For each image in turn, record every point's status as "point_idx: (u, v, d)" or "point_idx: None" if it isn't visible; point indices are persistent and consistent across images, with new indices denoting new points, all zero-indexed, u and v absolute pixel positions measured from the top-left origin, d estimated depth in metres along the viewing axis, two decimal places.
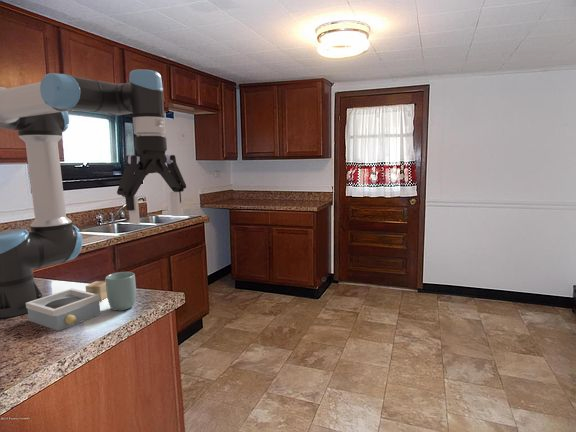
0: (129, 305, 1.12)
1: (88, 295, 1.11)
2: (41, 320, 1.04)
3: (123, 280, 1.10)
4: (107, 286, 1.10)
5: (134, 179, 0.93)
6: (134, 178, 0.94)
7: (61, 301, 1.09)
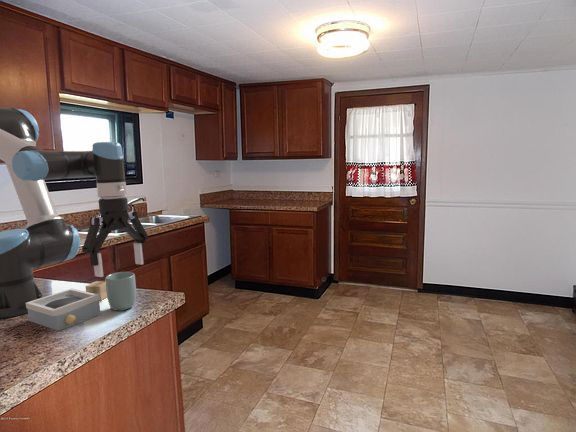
0: (129, 305, 1.12)
1: (88, 295, 1.11)
2: (41, 320, 1.04)
3: (123, 280, 1.10)
4: (107, 286, 1.10)
5: (98, 237, 1.06)
6: (98, 236, 1.07)
7: (61, 301, 1.09)
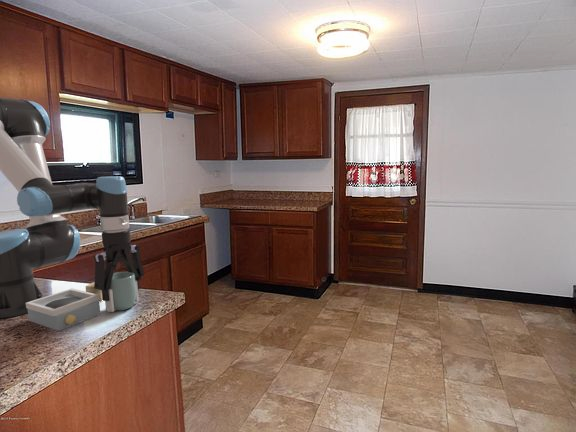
0: (129, 305, 1.12)
1: (88, 295, 1.11)
2: (41, 320, 1.04)
3: (123, 280, 1.10)
4: None
5: (106, 273, 1.09)
6: (105, 272, 1.09)
7: (61, 301, 1.09)
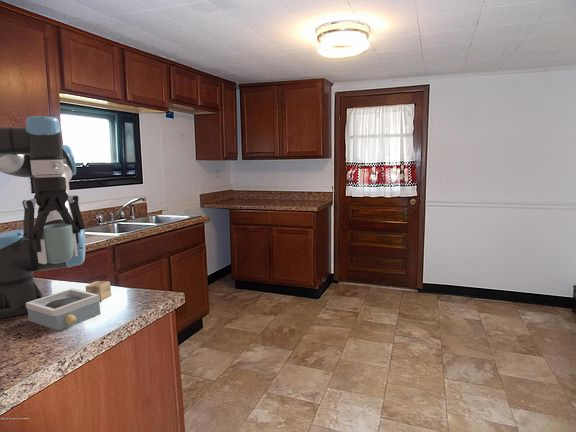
0: (64, 258, 1.04)
1: (88, 295, 1.11)
2: (41, 320, 1.04)
3: (57, 229, 1.02)
4: None
5: (37, 221, 1.01)
6: (37, 220, 1.01)
7: (61, 301, 1.09)
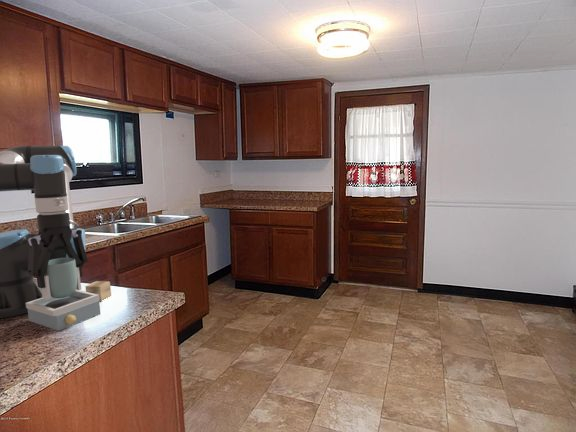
0: (68, 293, 1.05)
1: (88, 295, 1.11)
2: (41, 320, 1.04)
3: (60, 265, 1.03)
4: None
5: (41, 258, 1.02)
6: (41, 257, 1.02)
7: (61, 301, 1.09)
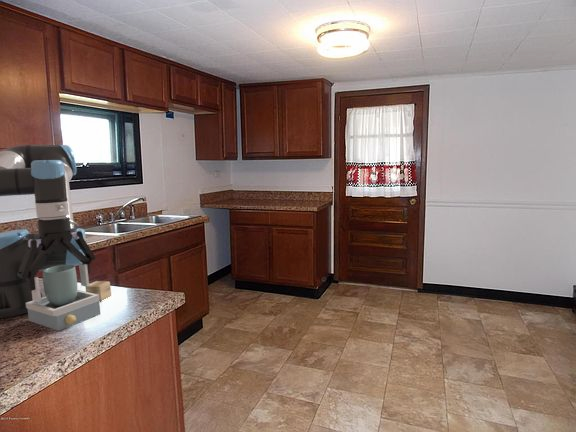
0: (68, 300, 1.06)
1: (88, 295, 1.11)
2: (41, 320, 1.04)
3: (60, 273, 1.03)
4: (44, 280, 1.04)
5: (36, 260, 1.01)
6: (36, 259, 1.01)
7: None
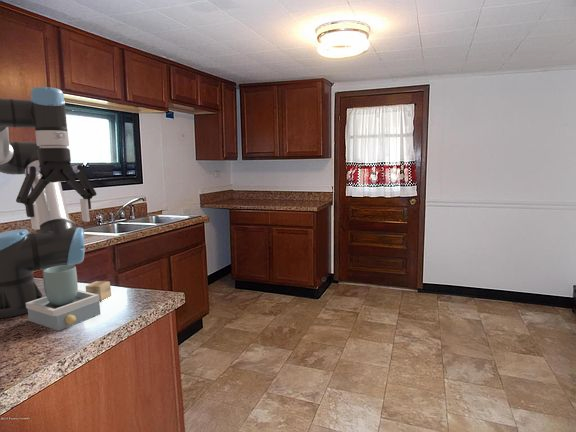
0: (68, 300, 1.06)
1: (88, 295, 1.11)
2: (41, 320, 1.04)
3: (61, 273, 1.03)
4: (44, 280, 1.04)
5: (35, 188, 1.01)
6: (35, 187, 1.01)
7: None
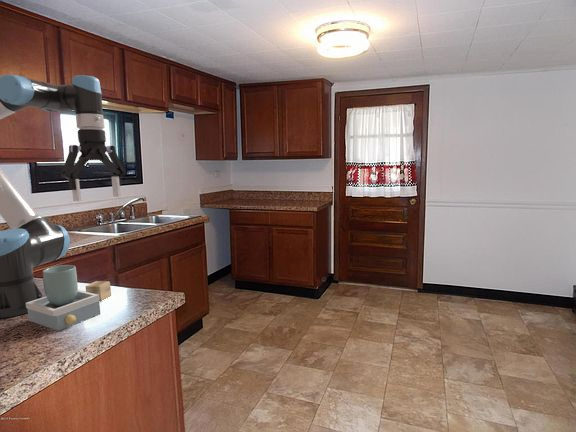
0: (69, 300, 1.06)
1: (88, 295, 1.11)
2: (41, 320, 1.04)
3: (61, 273, 1.03)
4: (44, 280, 1.04)
5: (76, 164, 1.15)
6: (76, 164, 1.15)
7: None
